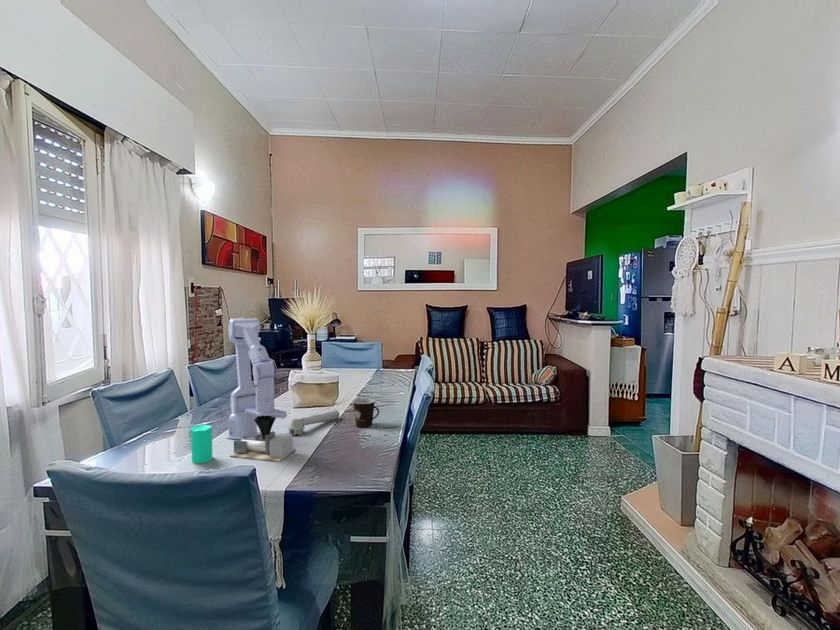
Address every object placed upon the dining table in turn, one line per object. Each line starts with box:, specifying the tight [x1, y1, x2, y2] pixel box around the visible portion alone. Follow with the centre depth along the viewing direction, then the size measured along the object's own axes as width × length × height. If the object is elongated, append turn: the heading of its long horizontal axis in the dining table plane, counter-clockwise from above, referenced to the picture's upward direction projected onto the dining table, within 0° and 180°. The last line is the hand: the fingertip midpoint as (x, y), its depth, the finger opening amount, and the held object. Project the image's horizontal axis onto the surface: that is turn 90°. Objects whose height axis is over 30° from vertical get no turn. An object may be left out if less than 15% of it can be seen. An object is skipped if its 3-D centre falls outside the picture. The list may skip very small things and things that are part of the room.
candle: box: [190, 422, 214, 464], centre depth 130 cm, size 6×6×12 cm
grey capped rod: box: [287, 409, 340, 436], centre depth 163 cm, size 5×7×25 cm
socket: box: [269, 433, 294, 458], centre depth 134 cm, size 4×6×6 cm
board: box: [229, 448, 297, 463], centre depth 136 cm, size 18×10×1 cm, turn 76°
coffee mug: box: [352, 397, 380, 429], centre depth 163 cm, size 12×9×10 cm
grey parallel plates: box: [233, 435, 258, 454], centre depth 137 cm, size 4×6×4 cm
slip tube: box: [240, 430, 276, 454], centre depth 136 cm, size 14×4×6 cm, turn 76°
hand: (265, 438), depth 135 cm, fingers closed
